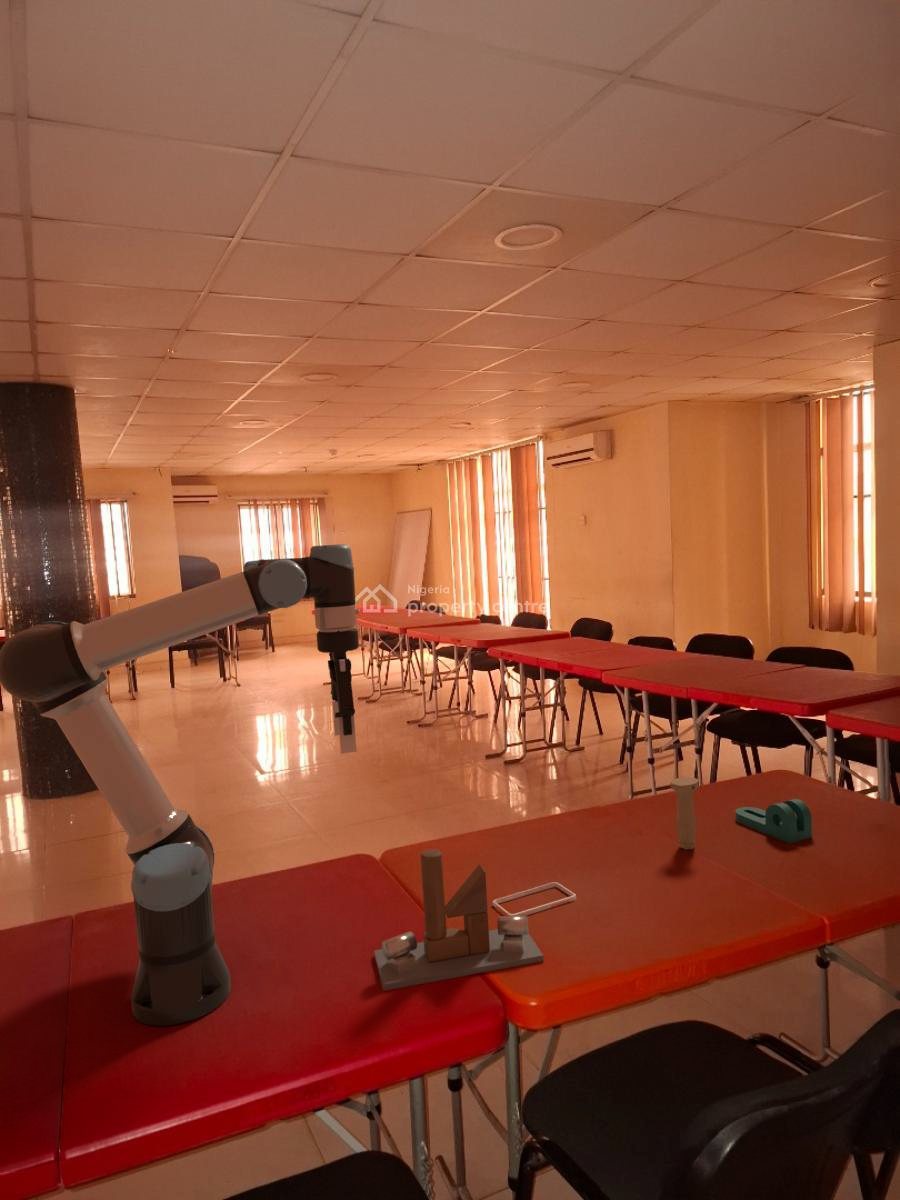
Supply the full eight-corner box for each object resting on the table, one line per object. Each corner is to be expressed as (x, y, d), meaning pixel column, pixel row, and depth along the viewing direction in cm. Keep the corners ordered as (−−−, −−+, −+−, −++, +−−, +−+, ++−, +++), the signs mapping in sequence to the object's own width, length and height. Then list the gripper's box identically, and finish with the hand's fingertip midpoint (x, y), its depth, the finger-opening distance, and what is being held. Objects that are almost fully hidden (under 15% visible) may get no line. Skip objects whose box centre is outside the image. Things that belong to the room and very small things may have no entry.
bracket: (811, 838, 175) (811, 803, 174) (789, 844, 172) (788, 809, 171) (750, 814, 191) (749, 782, 191) (729, 819, 188) (728, 787, 188)
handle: (705, 847, 173) (703, 780, 172) (685, 854, 170) (682, 787, 168) (689, 840, 177) (686, 775, 176) (668, 847, 174) (665, 781, 173)
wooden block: (490, 952, 132) (484, 849, 131) (428, 963, 130) (421, 859, 129) (484, 942, 136) (478, 841, 135) (424, 952, 134) (417, 850, 132)
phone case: (556, 887, 159) (491, 907, 152) (555, 881, 158) (491, 900, 152) (577, 901, 152) (511, 922, 145) (577, 895, 152) (511, 915, 145)
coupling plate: (383, 990, 125) (382, 984, 125) (374, 955, 136) (374, 950, 136) (543, 961, 131) (543, 955, 131) (523, 929, 141) (522, 924, 141)
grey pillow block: (394, 976, 127) (391, 947, 127) (381, 965, 131) (379, 936, 130) (420, 966, 130) (418, 937, 129) (407, 955, 133) (405, 926, 133)
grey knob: (498, 952, 133) (497, 923, 132) (500, 938, 137) (498, 911, 136) (528, 952, 132) (526, 923, 131) (528, 938, 136) (527, 911, 136)
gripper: (365, 634, 132) (373, 757, 133) (350, 621, 156) (358, 725, 158) (320, 638, 130) (329, 763, 132) (312, 624, 154) (320, 729, 156)
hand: (345, 743), depth 145 cm, fingers open, 13 cm apart
